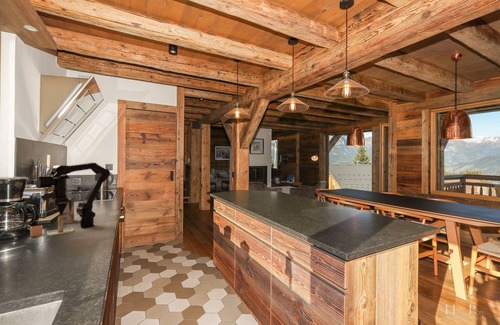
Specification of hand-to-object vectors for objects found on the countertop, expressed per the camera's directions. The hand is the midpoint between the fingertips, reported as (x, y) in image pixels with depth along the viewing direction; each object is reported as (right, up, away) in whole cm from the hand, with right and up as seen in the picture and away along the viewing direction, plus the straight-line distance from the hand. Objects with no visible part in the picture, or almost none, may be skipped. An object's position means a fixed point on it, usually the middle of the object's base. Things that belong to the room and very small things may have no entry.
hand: (60, 213), depth 140 cm
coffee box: (-14, -12, +24) cm, 30 cm away
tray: (0, -12, 0) cm, 12 cm away
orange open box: (-10, -12, -5) cm, 16 cm away
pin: (0, -11, 0) cm, 11 cm away
